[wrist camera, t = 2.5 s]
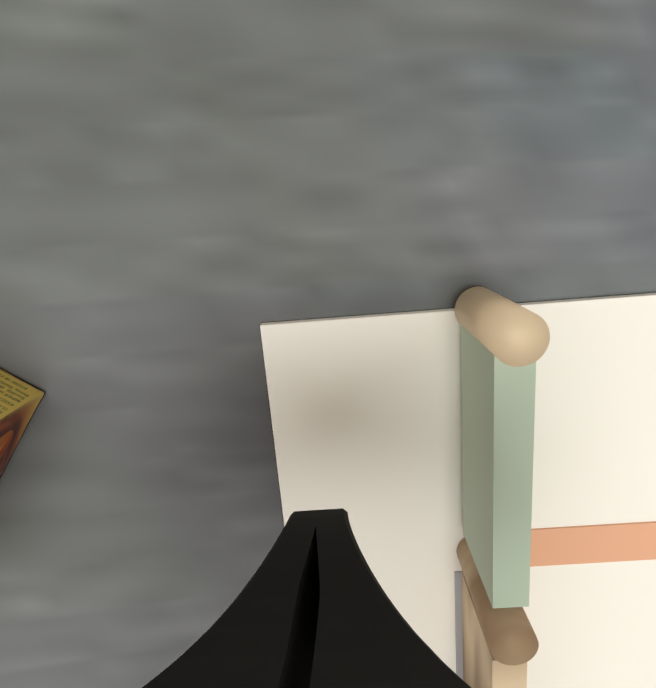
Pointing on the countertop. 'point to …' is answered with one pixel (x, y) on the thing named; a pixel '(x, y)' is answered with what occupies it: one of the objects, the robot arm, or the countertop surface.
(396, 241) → the countertop surface
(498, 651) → the fixed fence
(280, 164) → the countertop surface
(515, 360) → the green and tan bar
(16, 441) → the candy box
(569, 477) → the card
